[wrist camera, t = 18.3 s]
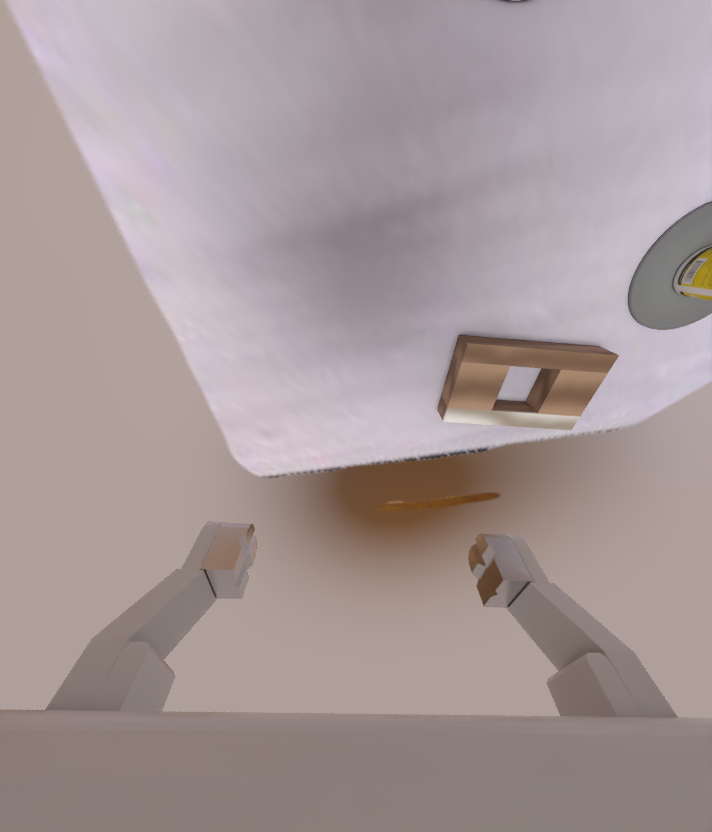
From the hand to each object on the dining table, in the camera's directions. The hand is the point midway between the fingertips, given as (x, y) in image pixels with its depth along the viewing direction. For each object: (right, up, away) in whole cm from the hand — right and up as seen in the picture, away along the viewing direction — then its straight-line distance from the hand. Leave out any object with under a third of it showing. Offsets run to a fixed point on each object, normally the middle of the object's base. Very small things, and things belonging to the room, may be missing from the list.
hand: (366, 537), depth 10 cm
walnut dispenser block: (+23, +10, +31) cm, 40 cm away
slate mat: (+40, +22, +23) cm, 51 cm away
